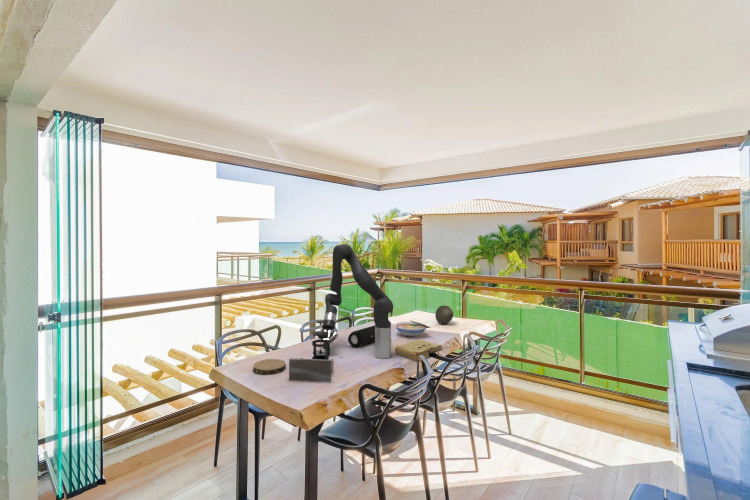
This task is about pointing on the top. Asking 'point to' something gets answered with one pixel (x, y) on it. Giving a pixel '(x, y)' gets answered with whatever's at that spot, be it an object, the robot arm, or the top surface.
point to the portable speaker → (362, 336)
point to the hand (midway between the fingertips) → (324, 348)
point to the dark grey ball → (444, 314)
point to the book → (417, 349)
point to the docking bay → (310, 369)
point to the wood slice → (269, 366)
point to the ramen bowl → (411, 328)
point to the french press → (322, 335)
